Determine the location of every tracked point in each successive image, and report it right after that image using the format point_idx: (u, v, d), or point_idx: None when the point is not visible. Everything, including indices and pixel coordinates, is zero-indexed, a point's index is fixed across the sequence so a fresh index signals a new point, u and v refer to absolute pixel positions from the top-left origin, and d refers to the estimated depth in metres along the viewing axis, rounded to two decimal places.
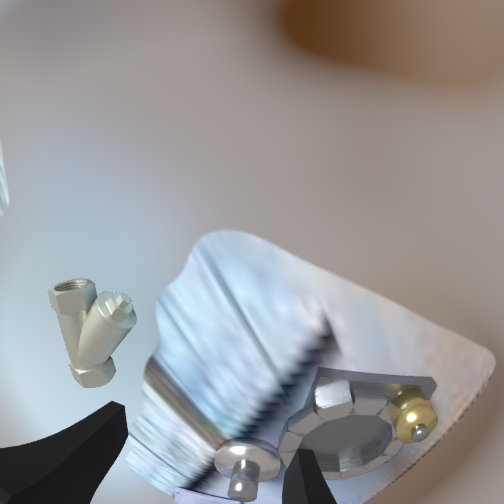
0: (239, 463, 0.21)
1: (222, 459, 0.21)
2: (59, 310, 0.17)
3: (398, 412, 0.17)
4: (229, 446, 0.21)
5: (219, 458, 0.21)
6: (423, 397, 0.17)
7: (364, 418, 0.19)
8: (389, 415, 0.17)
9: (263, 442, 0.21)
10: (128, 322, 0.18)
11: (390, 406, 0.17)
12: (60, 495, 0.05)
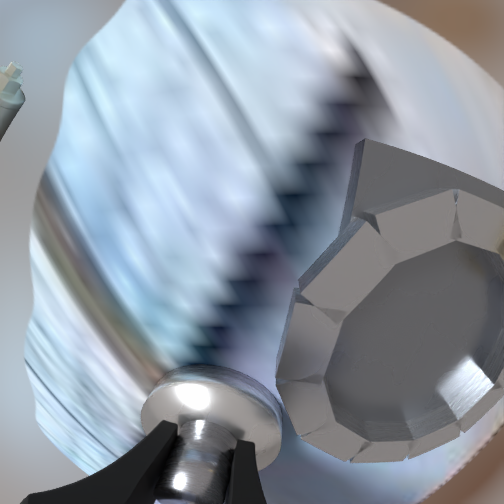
0: (187, 427, 0.10)
1: (154, 417, 0.10)
2: None
3: None
4: (163, 383, 0.10)
5: (148, 415, 0.10)
6: None
7: (464, 285, 0.08)
8: None
9: (239, 376, 0.11)
10: (5, 97, 0.08)
11: None
12: None
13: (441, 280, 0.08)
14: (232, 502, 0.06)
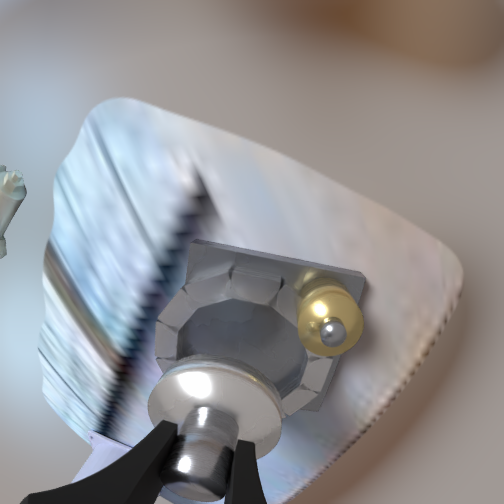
0: (196, 413, 0.10)
1: (162, 400, 0.11)
2: None
3: (301, 302, 0.15)
4: (178, 369, 0.11)
5: (157, 398, 0.11)
6: (340, 286, 0.15)
7: (262, 319, 0.17)
8: (290, 309, 0.15)
9: (251, 370, 0.11)
10: (15, 195, 0.17)
11: (287, 292, 0.15)
12: None
13: (243, 315, 0.17)
14: (232, 502, 0.06)
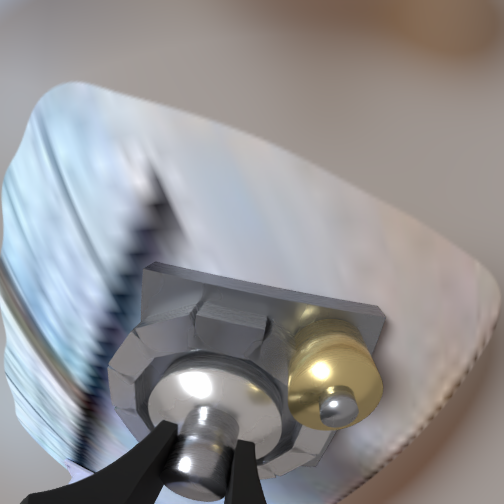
0: (196, 413, 0.10)
1: (162, 399, 0.11)
2: None
3: (294, 358, 0.10)
4: (179, 369, 0.11)
5: (157, 398, 0.11)
6: (351, 333, 0.10)
7: None
8: (279, 365, 0.10)
9: (251, 370, 0.11)
10: None
11: (275, 343, 0.10)
12: None
13: None
14: (232, 502, 0.06)
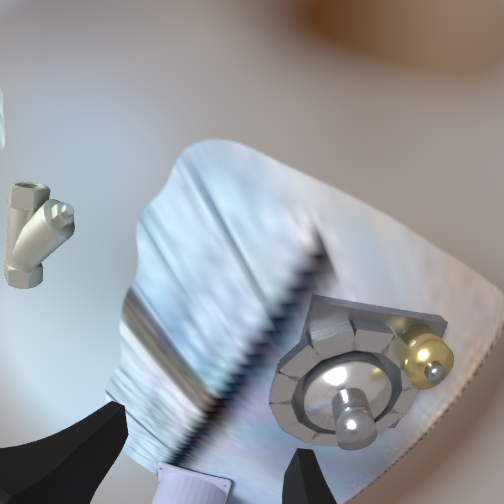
0: (345, 392, 0.16)
1: (320, 388, 0.17)
2: (11, 203, 0.16)
3: (407, 349, 0.16)
4: (335, 365, 0.17)
5: (316, 388, 0.17)
6: (434, 333, 0.16)
7: None
8: (397, 354, 0.16)
9: (375, 360, 0.17)
10: (64, 233, 0.18)
11: (397, 341, 0.16)
12: (60, 495, 0.05)
13: None
14: None
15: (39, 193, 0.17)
